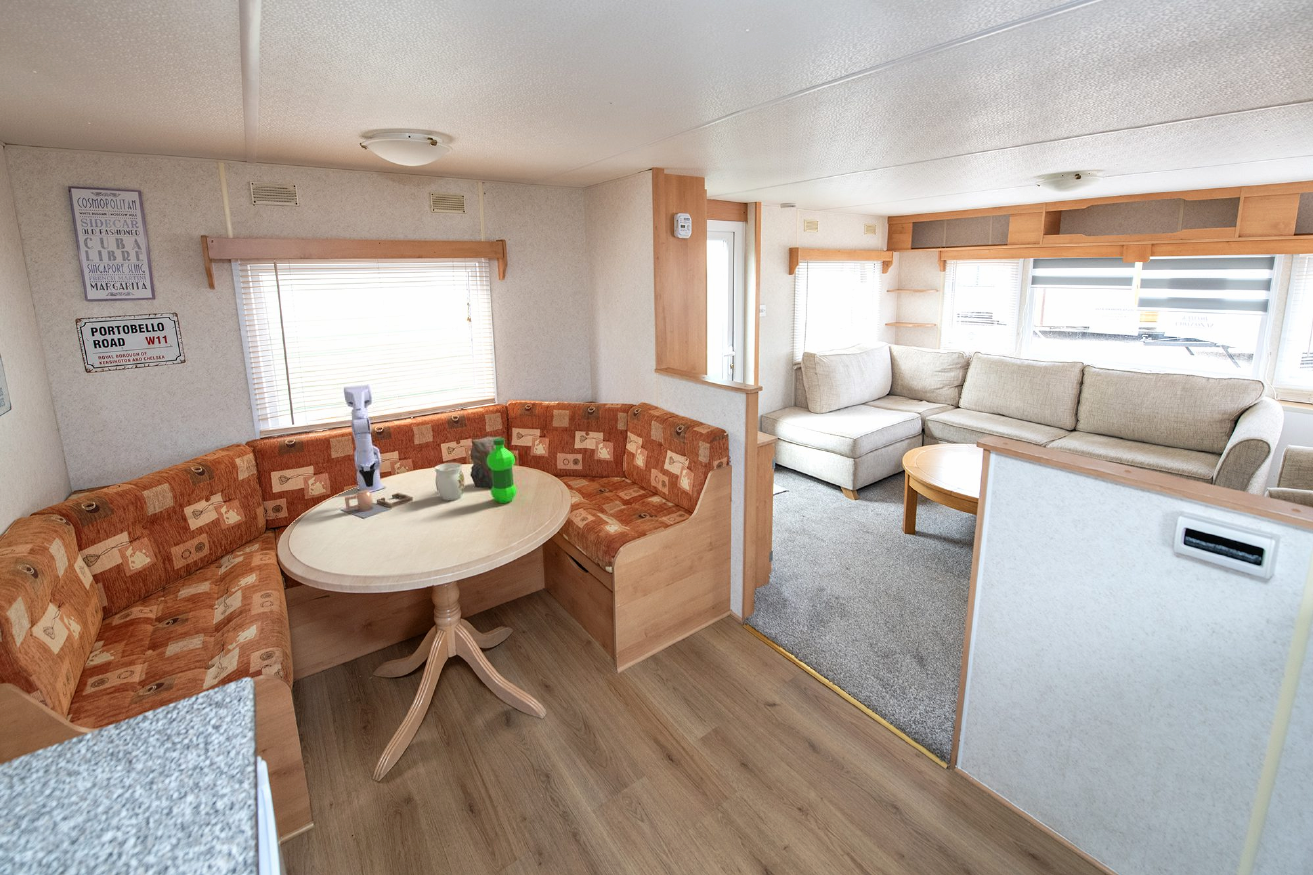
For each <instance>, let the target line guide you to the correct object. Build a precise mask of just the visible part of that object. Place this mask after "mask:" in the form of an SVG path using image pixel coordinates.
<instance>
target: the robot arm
mask: <svg viewBox="0 0 1313 875" xmlns="http://www.w3.org/2000/svg"><path fill="white" fill-rule="evenodd" d="M343 393H344V394H343V395H344V399H345V402H346V403H345V404H346V405H347V406H348V407H350V408H352V410H351V411H350V413H351V421H350V427H351V432H352V435H353V440H354V444H355V450H354V452H353V455H354V458H353V459H354V464H355V469H356V470H357V472H356V479H357V488H356V490H358V488H359V490H358V491H361V490H370V491H371V493H373V492H376V491H379V490H382V489H383V490H384V489H385V488H386V486H385V485H382V481H381V476H380V467H381V466H382V460H381V458H382V457H381V453H380V449H379V448H378V447H376V446H374V445H373V443H372V442H373V441H372V435H371V433H372V427H371V426H372V425H371V421H370V418H369V412H368V406H370V405H372V402H373V400H372V399H373V397H372V391H371V385H369V384H364V385H354V386H344V387H343Z"/></svg>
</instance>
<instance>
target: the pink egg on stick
mask: <svg viewBox="0 0 1313 875" xmlns="http://www.w3.org/2000/svg"><path fill="white" fill-rule="evenodd" d="M356 499H357V500H356ZM351 500H356V501H357V504H358V505H357V504H355V506H354V505H350V504H351V503H350V501H351ZM344 503H345V508H346V509H347V510H352V509H358V507H359V511H361V512H365V511H370V510H372V509H373V503H374V502H373V497H372V492H371V491H370V490H358V491H356V494H355V495H348V496H344Z"/></svg>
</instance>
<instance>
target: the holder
mask: <svg viewBox="0 0 1313 875" xmlns="http://www.w3.org/2000/svg"><path fill="white" fill-rule="evenodd" d="M396 497H398V498H399V497H400V498H399V499H400V500H397V501H394V502H389V501H386V497H381V498H378V499H376V504H377V503H378V505H381V506H384V507H387V508H390V509H392V508H395V507H398V506H401V505H404V504H407V503H409V502H412V501H414V498H413V496H411V495H408V494H404V493H401V492H396V493H393V494H391V499H393V500H395V499H397V498H396ZM394 498H395V499H394ZM397 505H398V506H397Z"/></svg>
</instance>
